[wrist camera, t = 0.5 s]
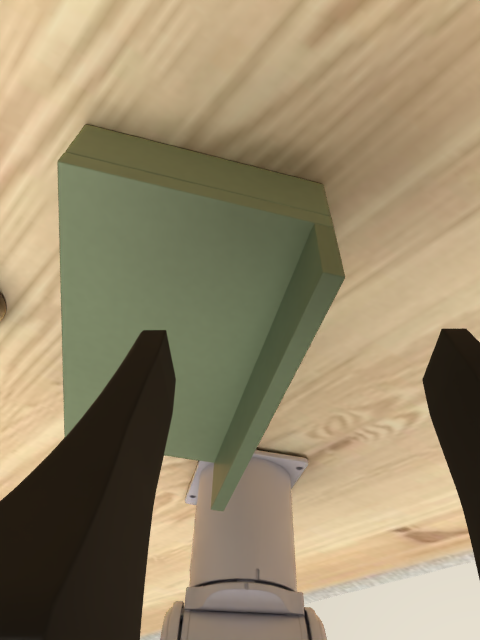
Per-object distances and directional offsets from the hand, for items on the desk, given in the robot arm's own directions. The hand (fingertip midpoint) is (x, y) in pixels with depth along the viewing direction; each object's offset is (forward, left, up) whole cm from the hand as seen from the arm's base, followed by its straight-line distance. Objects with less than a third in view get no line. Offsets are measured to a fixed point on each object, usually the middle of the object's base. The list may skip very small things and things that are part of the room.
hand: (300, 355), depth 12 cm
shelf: (-8, +3, -10) cm, 13 cm away
